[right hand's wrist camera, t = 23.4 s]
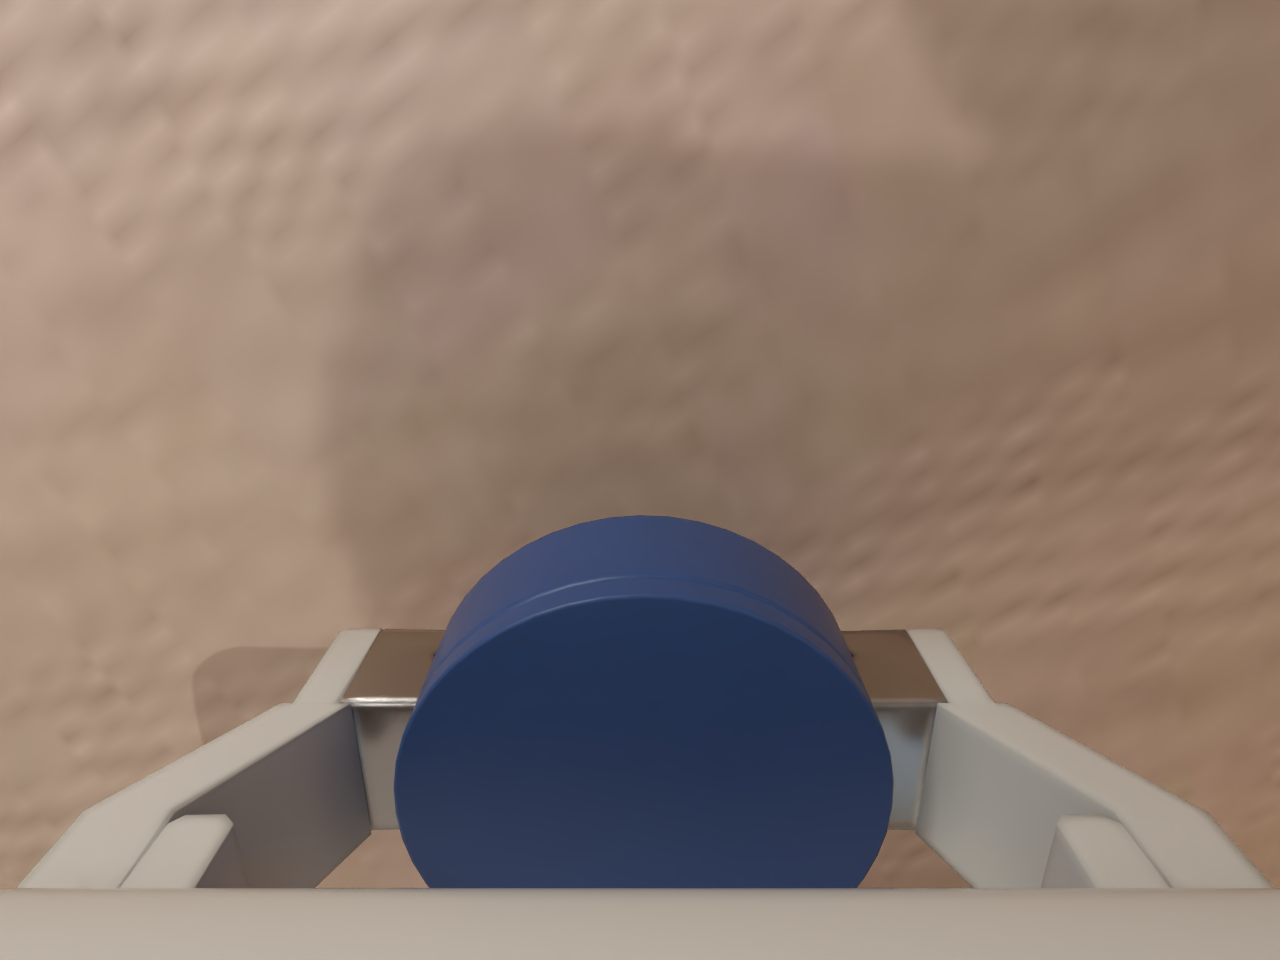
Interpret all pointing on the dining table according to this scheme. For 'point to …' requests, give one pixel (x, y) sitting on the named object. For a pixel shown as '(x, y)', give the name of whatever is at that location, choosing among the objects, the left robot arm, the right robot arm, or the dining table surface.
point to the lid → (643, 723)
